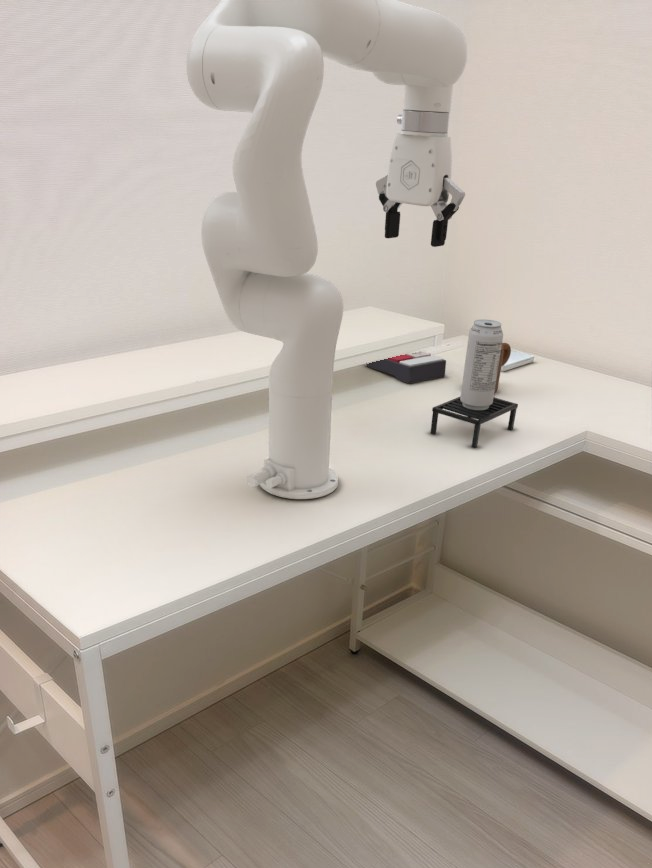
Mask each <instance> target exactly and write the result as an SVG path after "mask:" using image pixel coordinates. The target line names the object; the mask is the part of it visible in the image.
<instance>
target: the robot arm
mask: <svg viewBox="0 0 652 868" xmlns="http://www.w3.org/2000/svg"><path fill="white" fill-rule="evenodd" d="M324 58H326V59H328V60H331V61H334V62H336V63H338V64H340V65H343V66H345V67H347V68H350V69H353V70H356V71H357V70H358V71H363V72H370V73H372V75H373V76H374V77H375V79H377V80H379V81H380V82H381V83H384V84H386V85H392V86H393V85H394V86H403V89H404V90H403V100H402V110H401V111H402V112H401V114H398V115H397V117H396V123H397V124H398V125H400V132H396V134H395V136H394V141H393V144H392V147H391V153H390V158H389V163H388V171H387V175H385V176H383V177H381V178H379V179H378V180H377V181H376V182H375V187H376V191H377V195H378V201H379V202H380V204H381V205H382V211H383V212H384V213H385V221H384V238H385V239H395V238H398V237H399V236H400V235H399V234H400V225H401V211H398V210H399V209H400V208H401V206H402V205H403V204H405V205H412V206H418V207H430V208H431V209H432V211H433V214H434V216H435V218H436V219H434V220H433V221H432V228H431V238H430V246H431V247H433V248H437V247H443V246H444V245H445V244H446V239H447V233H448V225H449V221H451V220H452V218H453V216H454V215H455V214H456V213H457V212H458V211H459V209H460V206H461V204H462V202H463V201H464V199H465V197H466V192H465V191H464V190H463V189H462V188H461V187H459V186H458V184H456V183H455V182H454V181H453V180H452V165H453V164H452V162H453V159H452V157H453V155H452V140H451V136H449V127H450V119H451V107H452V99H453V90H454V85H455V84H456V83H457V82H458V81H459V80H460V78H461V77H462V75H463V74H464V72H465V69H466V65H467V63H468V62H467V61H468V44H467V39H466V37H465V33H464V31H463V30H462V28H461V27H460V26H459V24H457V23H456V22H455V21H454V20H452V19H451V18H449V17H448V16H445V15H444V14H442V13H439V12H438V11H434V10H431V9H428V8H425V7H421V6H418V5H414V4H410V3H407V2H404V1H401V0H219V2H218V3H217V4H216V5H215V7H214V8H213V9H212V10H211V11H210V13H209V14H208V15H207V16H206V18H205V19H204V20H203V22H202V23H200V26H199V27H198V28H197V30H196V31H195V32H194V35H193V37H192V39H191V41H190V44H189V47H188V51H187V55H186V75H187V81H188V84H189V87H190V89H191V91H192V92H193V95H194V96H195V97H196V98H197V100H198V101H199V102H200V103H201V104H203V105H204V106H206V107H208V108H211V109H213V110H217V111H223V112H238V113H251V115H250V118H249V120H248V121H247V124H246V126H245V128H244V130H243V132H242V135H241V136H240V138H239V140H238V142H237V144H236V147H235V151H234V154H233V158H232V176H233V180H234V181H233V182H234V185H235V189H236V191H226V192H225V191H224V192H222V193H219V194H217V195H216V196H214V197H213V198H212V199H211V200H210V201H209V202H208V204H207V206H206V208H205V210H204V212H203V215H202V220H201V244H202V248H203V253H204V257H205V259H206V262H207V265H208V268H209V271H210V273H211V277H212V279H213V282H214V285H215V288H216V290H217V291H216V292H217V293H218V296H219V299H220V301H221V305H222V307H223V310H224V312H225V314H226V316H227V318H228V320H229V321H230V323H231V324H232V325H233V326H234V327H235V328H236V329H238V330H239V331H241V332H244V333H247V334H252V335H255V336H259V337H264V338H267V339H268V338H269V339H274V340H275V341H280V342H281V343H282V348H281V349H280V351H279V352H278V354H277V356H276V357H275V358H274V360H273V361H272V363H271V365H270V368H269V372H268V458H265V459H264V467H261V470H260V471H257V472H254V473H250V474H249V475H247V477H246V480H247V484H248V485H249V486H250V487H251V488H255V487H257V486H260V488H262V490H264V491H266V492H267V493H268V494H271V495H273V496H276V497H279V498H284V499H288V500H289V499H290V500H311V499H317V498H322V497H325V496H327V495H330V494H331V493H333V492H334V491H335V490H336V489H337V488H338V485H339V476H338V474H337V473H336V472H335V471H334V470H333V469H331V468H330V455H331V453H330V451H331V431H332V409H333V408H332V407H333V406H332V405H333V381H334V366H335V356H336V349H337V343H338V338H339V333H340V330H341V325H342V322H343V321H342V320H343V316H344V298H343V296H342V293H341V292H340V291H341V290H340V289H339V288H338V287H337V285H336V284H335V283H333V282H332V281H331V280H329V279H328V278H325V277H323V276H321V275H318V274H313V273H308V272H310V271H311V270H312V269H313V267H314V265H315V263H316V261H317V257H318V250H319V249H318V248H319V247H318V246H319V245H318V244H319V243H318V236H317V230H316V225H315V222H314V215H313V213H312V207H311V203H310V198H309V194H308V190H307V185H306V180H305V176H304V170H303V162H302V157H303V155H302V154H303V146H304V140H305V138H306V135H307V130H308V128H309V125H310V122H311V119H312V117H313V113H314V111H315V108H316V106H317V103H318V101H319V98H320V94H321V91H322V87H323V84H324V75H325V62H324ZM450 195H451V200H450V202H449V203H448V201H449V198H450Z"/></svg>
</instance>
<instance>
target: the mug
mask: <svg viewBox="0 0 652 868" xmlns="http://www.w3.org/2000/svg"><path fill="white" fill-rule="evenodd" d="M511 350H512V348H511V345H510V344H509V343H507V342H502V347H501V353H500V359H499V366H498V372H497V378H496V385H495V391H494V394H495V393H496V392H497V390H498V388H499V383H500V377H501V372H502V371H501V366H503V365H505V364H506V362H507V361H508V359H509V357H510V354H511Z"/></svg>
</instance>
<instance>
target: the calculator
mask: <svg viewBox="0 0 652 868" xmlns="http://www.w3.org/2000/svg"><path fill="white" fill-rule="evenodd" d="M446 366H447V360H446V359H444V358H442V357H441V356H440V357H439V356H436V355H432V353H429V352H426V351H423V350H419V352H415V353H412V354H405V355H400V356H396V357H392V358H388V359H384V360H380V361H376V362H372V363H369V364H367V363H366V367H367V368H370V369H372V370H376V371H378V372H382V373H385V374H387V375H391V376H394V377H395V378H396V380H398V381H401V382H403V383H407V384H414V383H418V382H424V381H428V380H433V379H438V378H443V377H445V376H446V369H447V368H446Z"/></svg>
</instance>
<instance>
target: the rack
mask: <svg viewBox="0 0 652 868" xmlns="http://www.w3.org/2000/svg"><path fill="white" fill-rule="evenodd" d="M460 397H461V395H460V396H458V397H456V398H453V399H450V400H448V401H446V402H445V401H444V402H443V403H440V404H438V405H435V406H433V407H432V409H431V411H432V415H431V425H430V434H431V435H436V434H437V429H438V420H439V419H438V418H439V414H440V415H443V416H446V417H450V418H453V419H457V420H458V421H459V420H460V421H462V422H466V423H469V424H472V425H474V427H473V431H472V432H473V433H472V440H471V448H474V449H476V448H478V444H479V437H480V430H481V425H484V424H486V423H488V422H489V421H492V420H494V419H496V418H498V417H500V416H502V415H504V414H507V413H508V412H510V413H509V419H508V424H507V430H509V431H513V430H514V426H515V421H516V415H517V409H518V406H519V404H518V403H517V402H516V403H515V402H512V401H509V400H505V399H501V398H498V397H495V396H494V398H493V403H492V404H491V405H489V408H488V409H486V410H472V409H468V408H465V407H464V406H463V405H462V404H463V403H462V402H461V400H460Z"/></svg>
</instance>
